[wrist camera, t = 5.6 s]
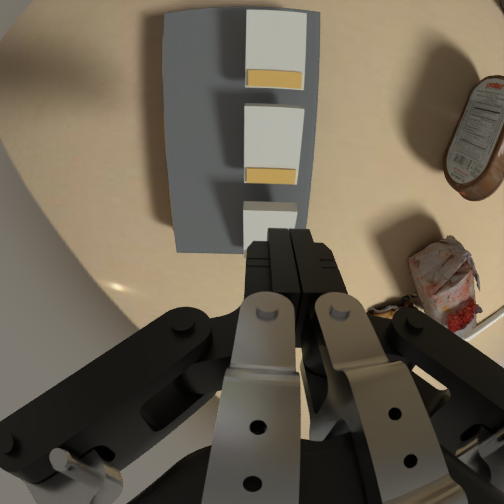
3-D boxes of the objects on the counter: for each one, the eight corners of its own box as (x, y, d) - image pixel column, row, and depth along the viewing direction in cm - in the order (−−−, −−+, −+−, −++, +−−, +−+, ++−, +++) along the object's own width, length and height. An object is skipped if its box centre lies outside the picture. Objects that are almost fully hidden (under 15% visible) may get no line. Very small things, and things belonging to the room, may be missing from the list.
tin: (445, 185, 26) (489, 217, 19) (428, 173, 26) (473, 204, 18) (488, 84, 19) (538, 95, 11) (473, 68, 18) (524, 74, 11)
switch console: (174, 23, 18) (160, 13, 15) (310, 22, 18) (320, 12, 15) (182, 232, 30) (173, 252, 27) (297, 234, 30) (302, 255, 27)
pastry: (340, 315, 37) (346, 334, 34) (416, 288, 35) (426, 304, 32) (346, 343, 41) (351, 361, 38) (415, 319, 38) (423, 334, 35)
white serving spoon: (540, 266, 33) (547, 274, 30) (538, 279, 35) (545, 287, 32) (445, 337, 41) (451, 348, 39) (446, 347, 43) (451, 357, 41)
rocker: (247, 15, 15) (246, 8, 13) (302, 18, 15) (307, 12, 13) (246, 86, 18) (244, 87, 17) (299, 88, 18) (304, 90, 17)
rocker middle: (245, 100, 18) (244, 106, 17) (300, 102, 18) (305, 109, 17) (245, 170, 22) (243, 184, 21) (293, 172, 22) (297, 185, 21)
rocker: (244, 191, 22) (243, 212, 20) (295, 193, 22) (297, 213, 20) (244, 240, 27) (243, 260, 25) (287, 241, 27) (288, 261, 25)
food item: (397, 255, 31) (432, 310, 23) (445, 222, 29) (490, 267, 20) (421, 313, 37) (446, 362, 29) (461, 286, 34) (491, 330, 26)
